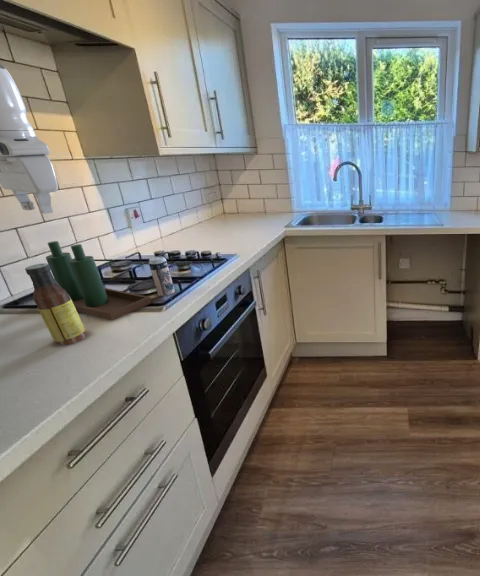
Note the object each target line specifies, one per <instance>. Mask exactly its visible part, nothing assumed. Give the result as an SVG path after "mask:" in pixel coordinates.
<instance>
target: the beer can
mask: <svg viewBox="0 0 480 576" xmlns="http://www.w3.org/2000/svg"><path fill="white" fill-rule="evenodd" d="M148 266H149V269H150V272H151V275H152V279H153V282H154V283H153V284H154V286H155V289H156V292H157V295H158V296H160V297H162V296H163V297H164V296H169V295H172V294H174V293H176V290H175V286H174V283H173V280H172V276H171V273H170V268H169V265H168V262H167V259H166V257H164V256H160V255H159V256H154V257H151V258H149V260H148Z"/></svg>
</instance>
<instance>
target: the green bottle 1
mask: <svg viewBox="0 0 480 576" xmlns="http://www.w3.org/2000/svg"><path fill="white" fill-rule="evenodd" d="M47 246H48V248H49V250H50V253H51V254H49V255H46V256H45V259H46V262H47V264H48V265H49V267H50V268H51V269H50V271H51V273H52V275H53V278H54V279H55V281H56V282H57V283H58V284H59V285H60V287H61V288H62V289H64V290H65V291H66V292H67V293H68V295H69V296H70V298H71V300H72V301H76V300H80V299H82V298H83V297H82V295H81V292H80V290H79V287H78V284H77V282H76V279H75V277H74V274H73V272H72V269H71V266H70V264H69V260H71V259H73V257H72V255H71V252H63V250H62V248H61V246H60V243H59V241H58V240H54V241H53V240H52V241H49V242H47Z"/></svg>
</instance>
